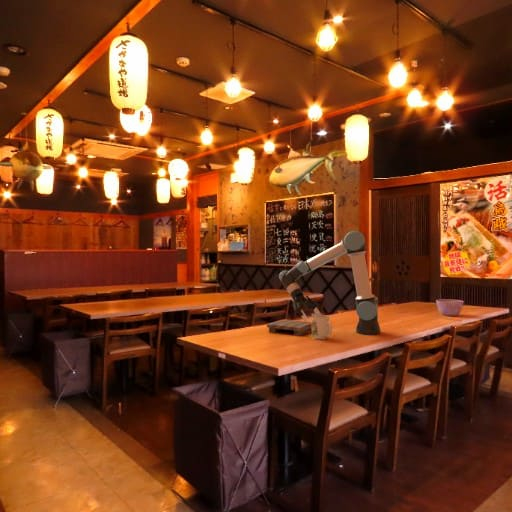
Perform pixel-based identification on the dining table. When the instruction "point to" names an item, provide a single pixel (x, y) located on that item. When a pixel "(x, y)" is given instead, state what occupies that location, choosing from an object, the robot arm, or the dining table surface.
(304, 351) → the dining table surface
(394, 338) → the dining table surface
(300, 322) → the serving board
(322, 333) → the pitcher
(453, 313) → the purple bowl
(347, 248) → the robot arm
